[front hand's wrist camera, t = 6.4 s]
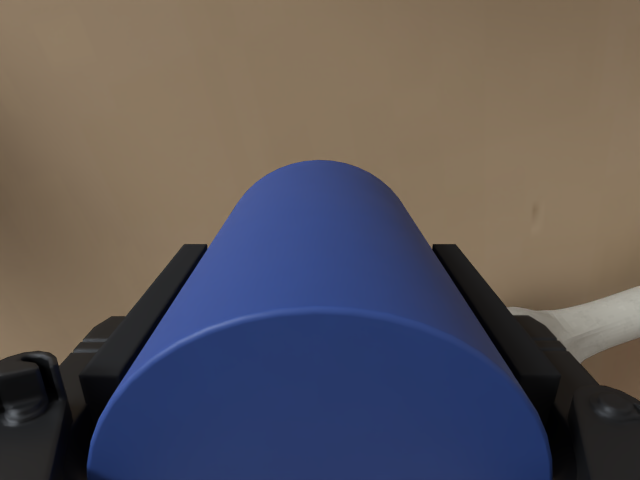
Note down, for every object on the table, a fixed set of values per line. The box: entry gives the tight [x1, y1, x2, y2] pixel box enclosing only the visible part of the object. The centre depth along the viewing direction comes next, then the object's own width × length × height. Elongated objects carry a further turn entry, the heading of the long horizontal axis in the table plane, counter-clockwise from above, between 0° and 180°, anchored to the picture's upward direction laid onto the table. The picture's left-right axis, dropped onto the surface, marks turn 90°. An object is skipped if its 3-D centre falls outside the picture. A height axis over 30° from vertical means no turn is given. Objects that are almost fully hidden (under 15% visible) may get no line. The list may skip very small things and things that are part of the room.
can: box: [87, 160, 553, 480], centre depth 12 cm, size 8×8×10 cm
